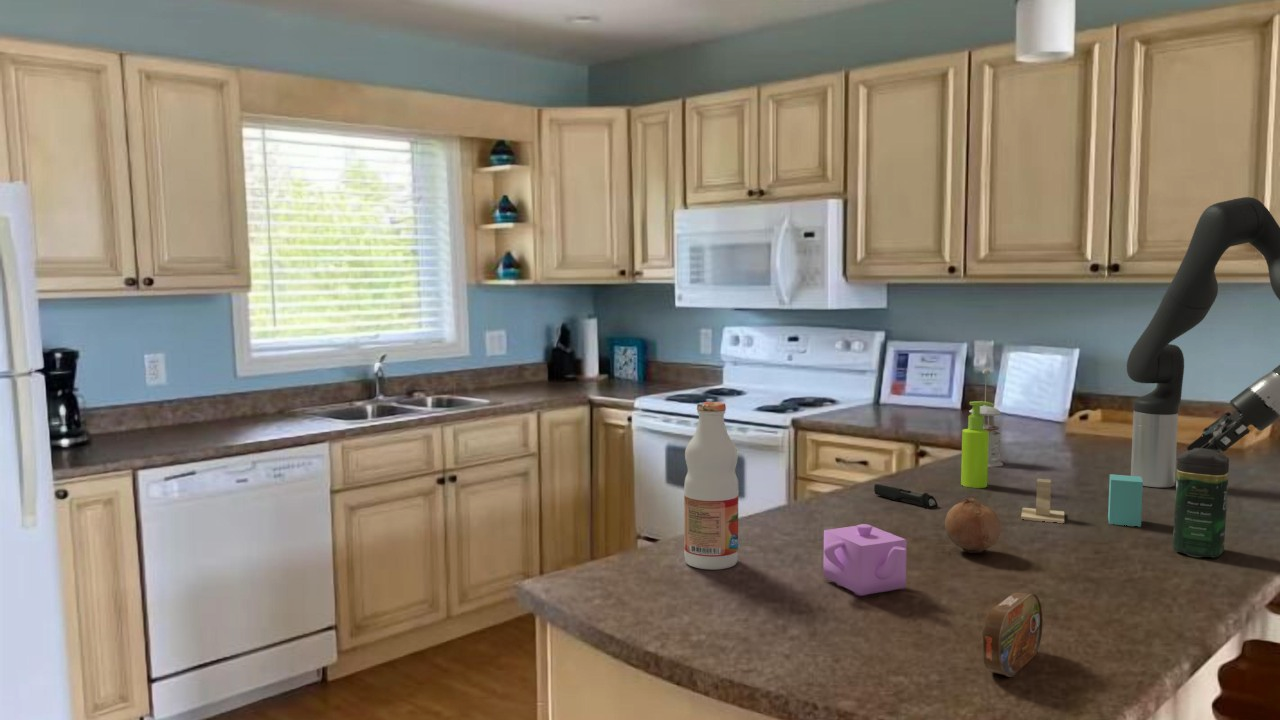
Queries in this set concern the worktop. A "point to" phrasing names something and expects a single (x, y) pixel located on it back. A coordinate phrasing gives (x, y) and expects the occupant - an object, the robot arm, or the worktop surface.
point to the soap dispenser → (975, 449)
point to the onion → (972, 526)
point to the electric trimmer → (906, 496)
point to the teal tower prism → (1125, 500)
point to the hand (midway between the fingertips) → (1192, 455)
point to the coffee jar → (1201, 502)
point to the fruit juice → (711, 493)
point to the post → (1043, 505)
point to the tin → (1012, 633)
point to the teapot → (864, 559)
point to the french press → (991, 431)
